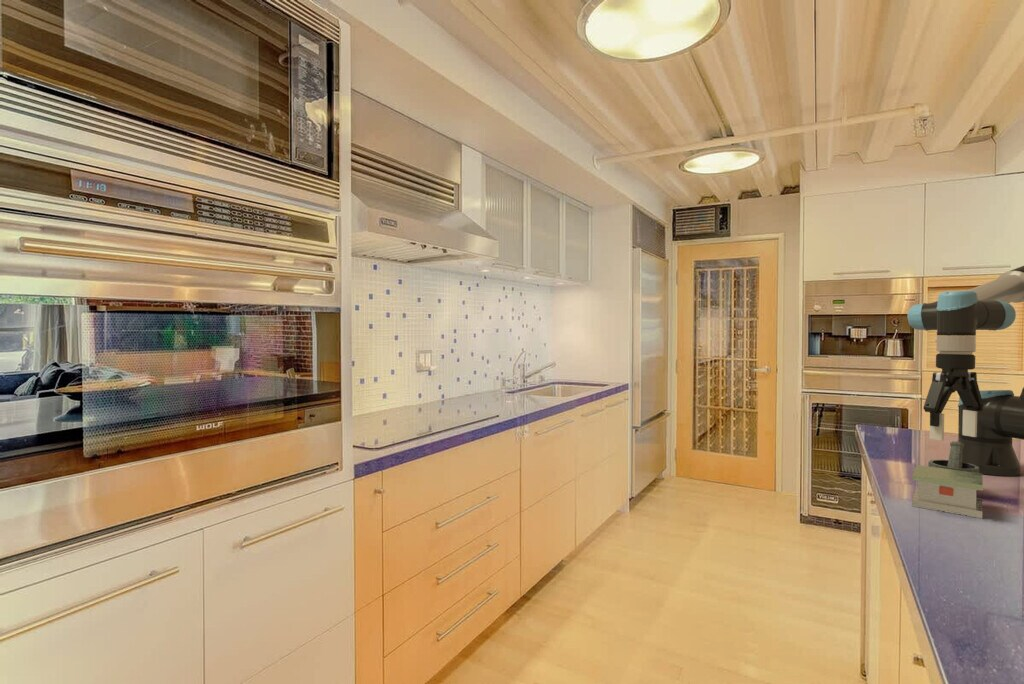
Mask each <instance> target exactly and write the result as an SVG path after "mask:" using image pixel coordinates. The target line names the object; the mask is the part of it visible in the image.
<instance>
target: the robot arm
mask: <svg viewBox="0 0 1024 684" xmlns="http://www.w3.org/2000/svg"><path fill="white" fill-rule="evenodd" d="M1023 302H1024V265H1022V266H1019V267H1016V268H1014V269H1011V270H1008V271H1005V272H1003V273H1002V274H1000V275H999V276H998V277H997V279H994V280H991V281H988V282H985V283H983V284H981V285H978V286H976V287H972V288H969V289H968V290H954V291H953V290H949V291H943V292H941V293H939V294H938V297H937V300H936V301H934V302H930V303H927V302H922V303H917V304H916V303H915V304H914V305H912V306H911V307H910V308H909V309H908V312H907V316H906V317H907V322H908V324H909V326H910V327H911V328H912V329H913V330H916V331H917V330H918V331H926V332H928V331H936V340H935V343H936V351H937V352H939V353H936V355H935V367H936V368H937V369H941V372H933V373H932V377H931V383H930V386H929V390H928V392H927V396H926V398H925V401H924V404H923V411H924V412H925V413H929V435H928V437H929V440H936V441H944V440H945V413H943V411H944V409H945V407H946V405H947V403H948V402H949V399H950V398H951V396H952V394H953V393H956V392H957V395H958V396H959V398H958V405H957V407H958V421H957V422H958V425H957V426H958V431H957V432H958V435H957V436H958V439H957V442H961V443H963V444H964V448H963V452H962V462H964V463H970V464H973V465H976V466H978V467H979V473H981V474H982V475H983V474H984V475H989V476H1000V477H1001V476H1002V477H1006V476H1007V477H1010V476H1011V477H1014V476H1019V475H1021V463H1020V461H1019V459H1018V457H1017V454H1016V451H1015V449H1014V446H1013V439H1018V440H1024V386H1023V387H1022V389H1021V393H1020V395H1019V396H1018V395H1015V394H1014V391H1013V390H1012V389H999V390H998V389H992V390H980V388H979V387H980V386H979V384H978V379H977V378H978V377H977V376H978V375H977V372H975V371H972V370H975V368H976V355H975V354H974V353H975V352H977V331H994V332H995V331H1001V330H1006V329H1007V328H1009V327H1011V326H1012V325H1013V323H1014V322H1015V320H1016V319H1017V317H1016V316H1017V312H1016V310H1015V308H1014V306H1013V305H1012V304H1010V303H1016V304H1017V303H1023ZM970 370H971V371H970Z"/></svg>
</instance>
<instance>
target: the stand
mask: <svg viewBox="0 0 1024 684" xmlns="http://www.w3.org/2000/svg"><path fill="white" fill-rule="evenodd" d="M911 476H912V478H911V480H912V481H916V482H917V487H916V488H915V491H914V494H913V497H912V498H911V507H914V508H919V509H920V508H921V509H926V510H931V509H932V511H937V510H940V511H939V512H942V511H945V512H944V513H948V512H951V513H950V514H954V513H956V514H955V515H959V514H961V515H960V516H965V515H967V516H966V517H971V518H977V519H983V498H982V497H977V491H982V492H983V491H984V485H983V483H984V482H983V480H984V479H983V474H981V473H973V472H966V471H958V470H951V469H943V468H936V467H929V466H928V465H919V464H917V465H915V468H914V470H913V473H912V475H911Z"/></svg>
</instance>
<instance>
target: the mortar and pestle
mask: <svg viewBox="0 0 1024 684" xmlns="http://www.w3.org/2000/svg"><path fill="white" fill-rule="evenodd" d="M949 446H950V450H949V455H948V460H947V459H930V460H929V461H928V465H927V466H929V467H936V468H943V469H951V470H958V471H966V472H973V473H979V467H978V466H976V465H973V464H970V463H964V462H962V452H963V448H964V444H963V443H961V442H958V441H955V440H954V441H950V442H949Z"/></svg>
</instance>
